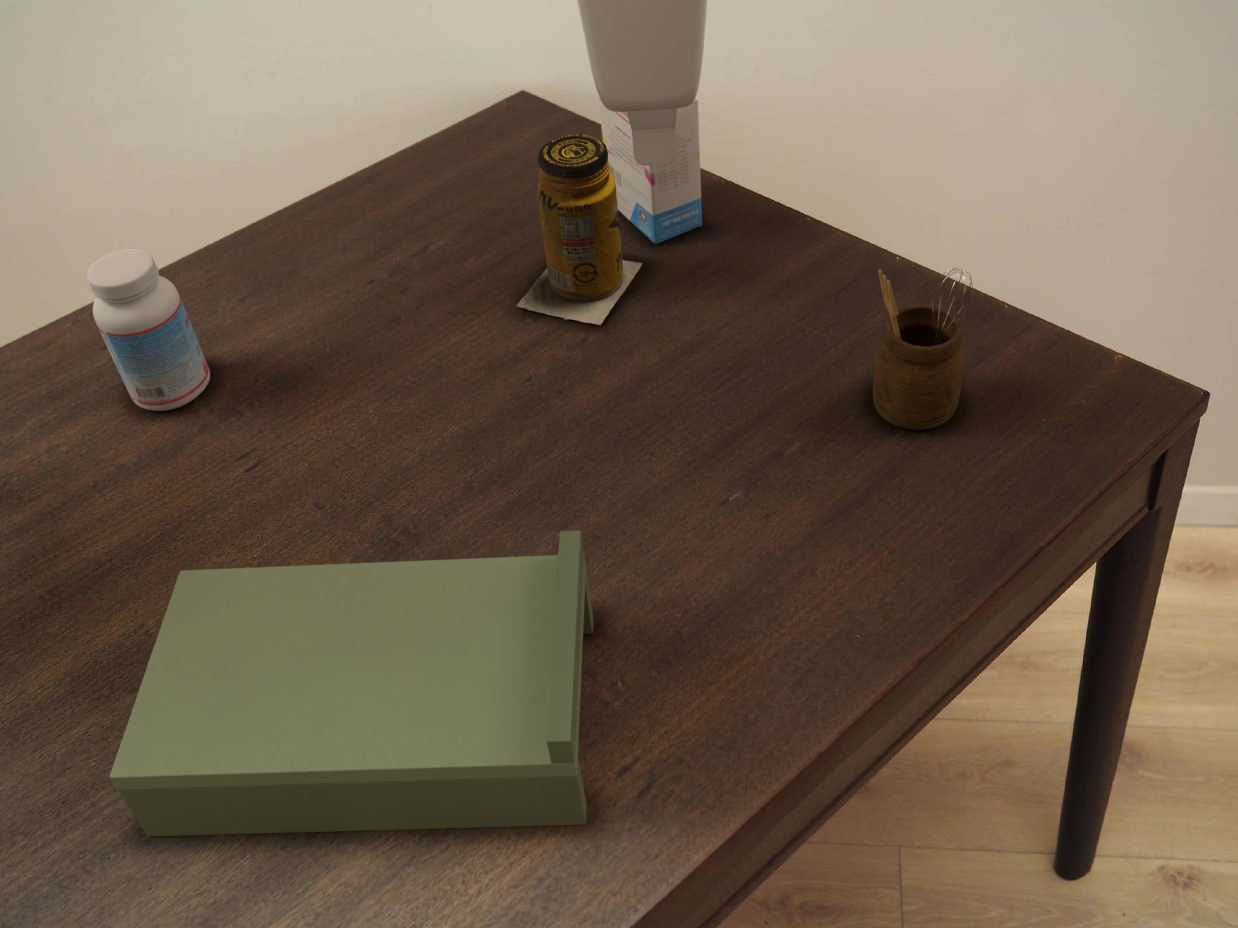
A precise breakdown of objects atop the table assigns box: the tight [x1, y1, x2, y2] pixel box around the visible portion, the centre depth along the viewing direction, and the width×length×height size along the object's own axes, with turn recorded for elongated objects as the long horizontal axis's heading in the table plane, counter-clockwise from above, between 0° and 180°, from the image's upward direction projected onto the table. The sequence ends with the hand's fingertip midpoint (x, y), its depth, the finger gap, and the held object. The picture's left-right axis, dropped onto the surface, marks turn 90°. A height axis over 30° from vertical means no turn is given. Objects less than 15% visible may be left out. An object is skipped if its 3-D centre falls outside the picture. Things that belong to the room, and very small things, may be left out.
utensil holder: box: [872, 267, 974, 431], centre depth 85 cm, size 6×6×12 cm
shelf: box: [109, 530, 594, 837], centre depth 71 cm, size 24×14×8 cm, turn 89°
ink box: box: [597, 93, 703, 245], centre depth 104 cm, size 8×5×15 cm, turn 29°
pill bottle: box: [86, 248, 211, 412], centre depth 93 cm, size 6×6×11 cm
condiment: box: [516, 133, 643, 326], centre depth 98 cm, size 7×8×12 cm
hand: (655, 101), depth 57 cm, fingers open, 8 cm apart
